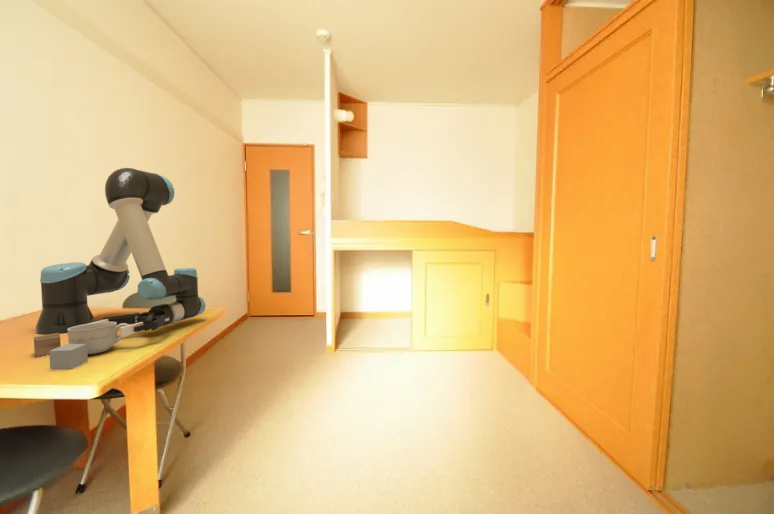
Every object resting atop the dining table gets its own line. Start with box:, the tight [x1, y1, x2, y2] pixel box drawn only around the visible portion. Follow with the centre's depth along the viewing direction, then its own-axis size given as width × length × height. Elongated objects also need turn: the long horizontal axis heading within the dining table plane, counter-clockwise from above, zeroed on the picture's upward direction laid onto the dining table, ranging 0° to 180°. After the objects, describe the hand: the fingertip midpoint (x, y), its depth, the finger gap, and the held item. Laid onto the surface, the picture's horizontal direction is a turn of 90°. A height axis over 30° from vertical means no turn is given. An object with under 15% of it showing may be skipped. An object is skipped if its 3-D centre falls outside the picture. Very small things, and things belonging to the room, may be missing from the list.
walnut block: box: [33, 333, 62, 359], centre depth 93 cm, size 5×5×5 cm
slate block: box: [49, 343, 89, 370], centre depth 85 cm, size 5×5×5 cm
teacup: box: [67, 321, 130, 356], centre depth 95 cm, size 14×11×8 cm
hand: (102, 330), depth 96 cm, fingers open, 13 cm apart
